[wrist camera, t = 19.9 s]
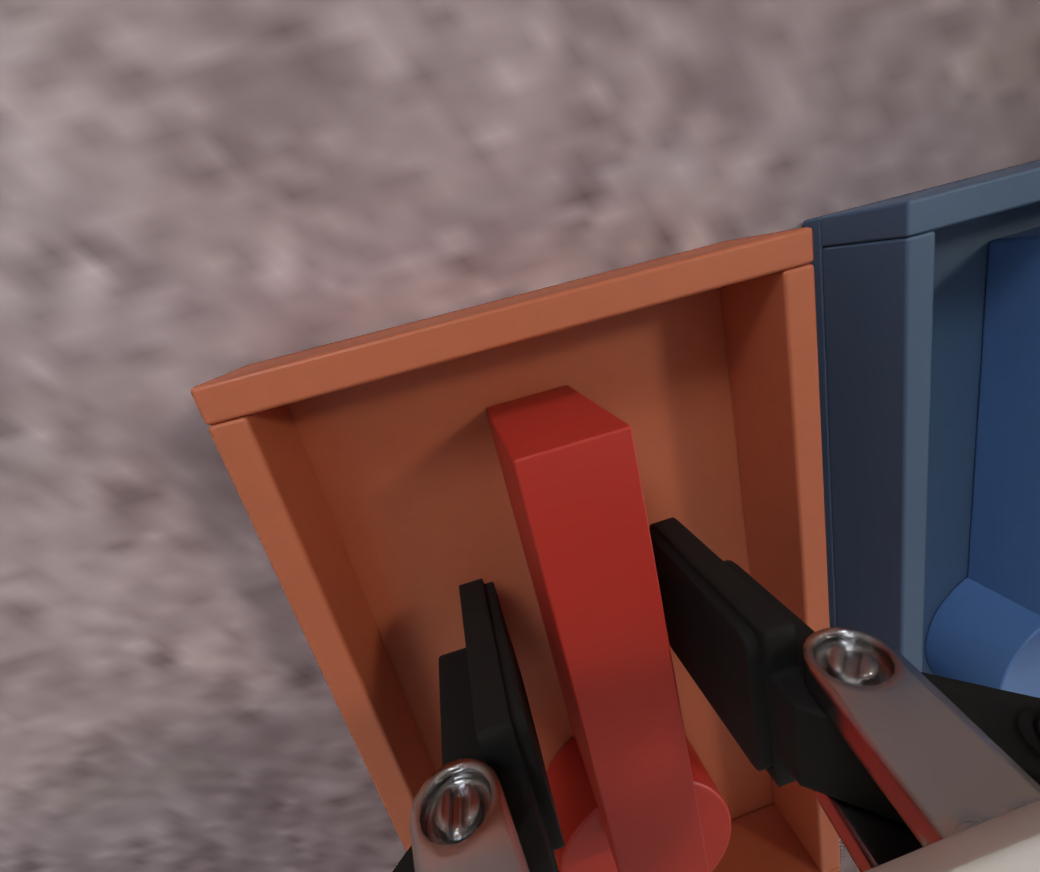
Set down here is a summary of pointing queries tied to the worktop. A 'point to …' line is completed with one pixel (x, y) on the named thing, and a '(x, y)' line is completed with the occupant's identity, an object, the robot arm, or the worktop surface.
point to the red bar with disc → (605, 643)
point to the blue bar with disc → (1002, 491)
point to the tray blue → (905, 393)
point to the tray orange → (486, 504)
